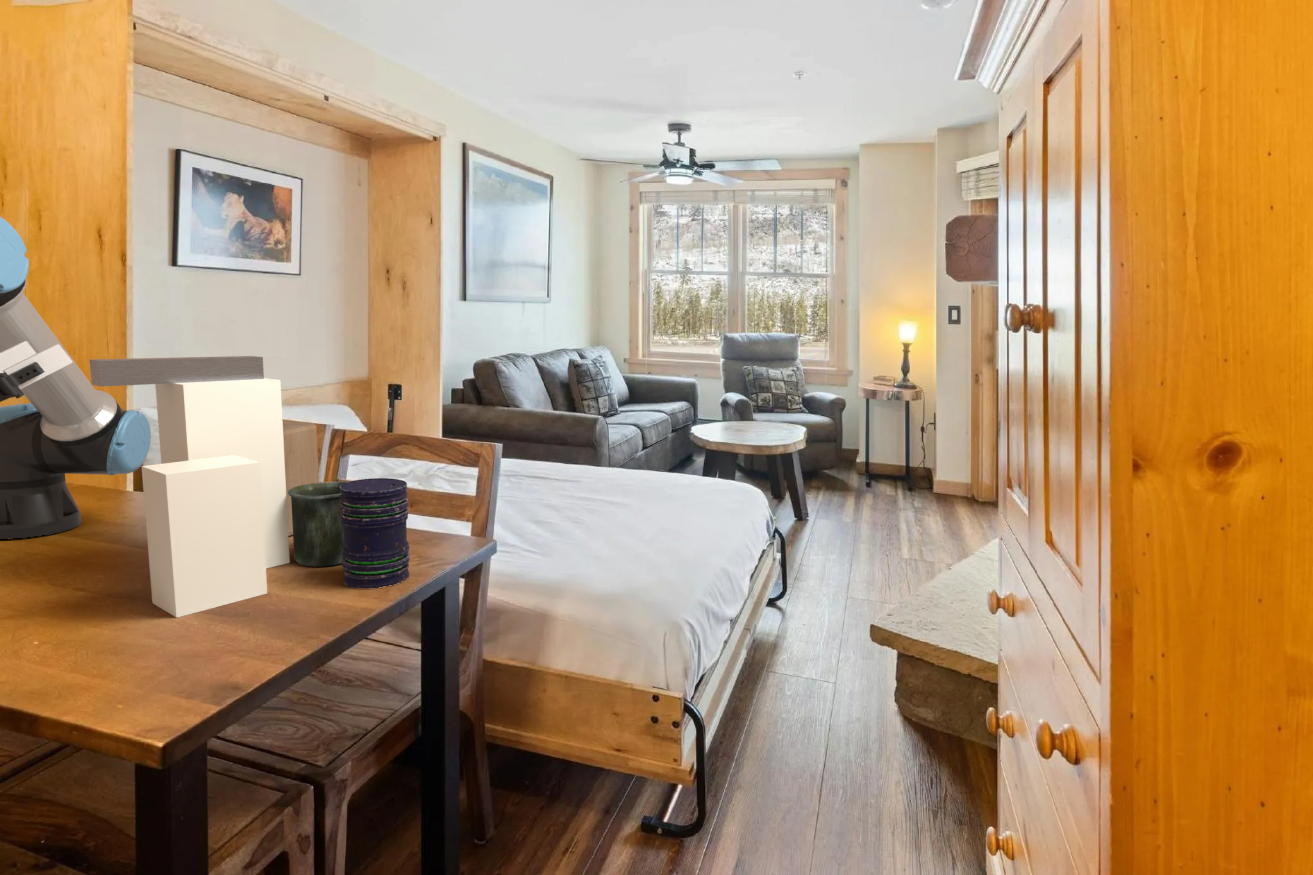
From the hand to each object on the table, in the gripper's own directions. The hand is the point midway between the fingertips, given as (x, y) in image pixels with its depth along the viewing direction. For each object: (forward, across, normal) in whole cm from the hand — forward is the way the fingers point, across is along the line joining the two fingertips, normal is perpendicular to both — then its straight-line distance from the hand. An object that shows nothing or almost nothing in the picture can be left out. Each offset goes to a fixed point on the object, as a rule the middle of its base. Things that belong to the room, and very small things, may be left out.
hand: (48, 350), depth 101 cm
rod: (+11, +2, -12) cm, 16 cm away
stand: (+1, +1, -40) cm, 40 cm away
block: (+15, -14, -48) cm, 52 cm away
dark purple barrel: (+11, +23, -47) cm, 53 cm away
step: (-6, +13, -36) cm, 39 cm away
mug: (+13, +8, -48) cm, 50 cm away
